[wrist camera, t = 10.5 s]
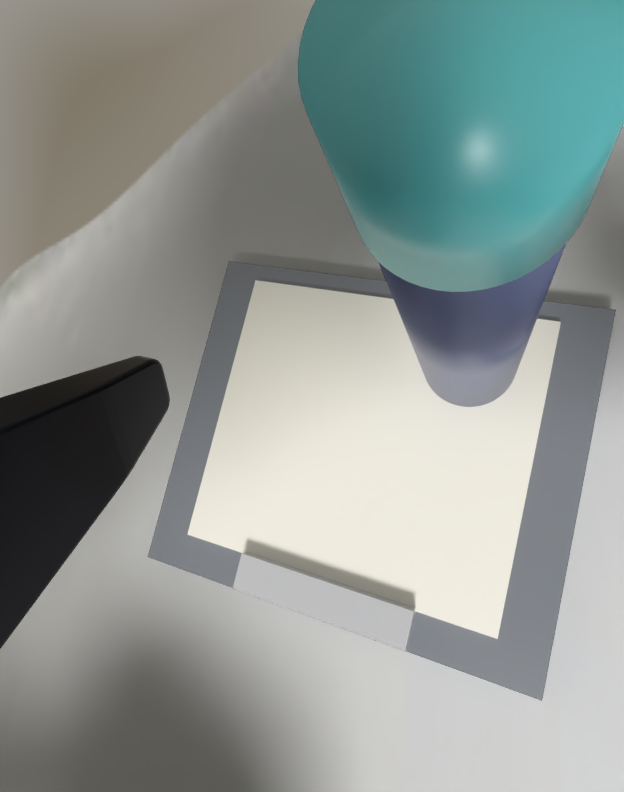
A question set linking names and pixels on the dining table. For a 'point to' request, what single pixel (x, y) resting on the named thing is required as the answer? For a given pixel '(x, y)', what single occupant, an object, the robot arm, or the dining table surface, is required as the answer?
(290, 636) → the dining table surface
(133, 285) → the dining table surface
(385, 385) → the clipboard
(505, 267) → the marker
